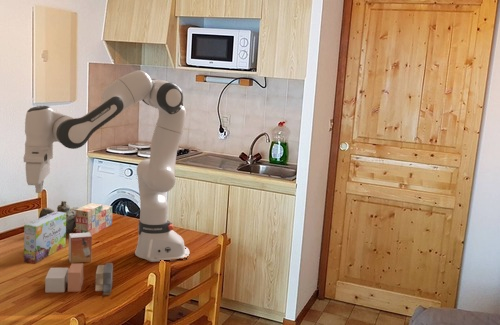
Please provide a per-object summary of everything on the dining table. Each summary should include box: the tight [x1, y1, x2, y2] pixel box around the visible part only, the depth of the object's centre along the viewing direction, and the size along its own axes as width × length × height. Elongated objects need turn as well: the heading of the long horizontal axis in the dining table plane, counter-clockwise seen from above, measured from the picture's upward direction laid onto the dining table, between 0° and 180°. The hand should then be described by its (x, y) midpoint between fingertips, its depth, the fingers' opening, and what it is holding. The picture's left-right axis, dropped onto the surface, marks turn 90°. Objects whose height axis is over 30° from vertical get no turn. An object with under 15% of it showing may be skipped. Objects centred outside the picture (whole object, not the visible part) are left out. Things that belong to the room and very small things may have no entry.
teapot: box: [38, 200, 79, 235], centre depth 232 cm, size 21×12×15 cm, turn 141°
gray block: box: [44, 267, 70, 293], centre depth 176 cm, size 6×9×5 cm, turn 11°
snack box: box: [23, 210, 67, 264], centre depth 206 cm, size 21×6×15 cm, turn 168°
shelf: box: [94, 262, 114, 296], centre depth 177 cm, size 26×10×8 cm, turn 101°
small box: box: [68, 232, 93, 264], centre depth 202 cm, size 8×6×10 cm
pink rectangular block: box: [67, 263, 84, 293], centre depth 177 cm, size 4×8×7 cm, turn 11°
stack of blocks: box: [75, 202, 113, 236], centre depth 239 cm, size 21×6×12 cm, turn 165°
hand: (39, 192), depth 181 cm, fingers closed
